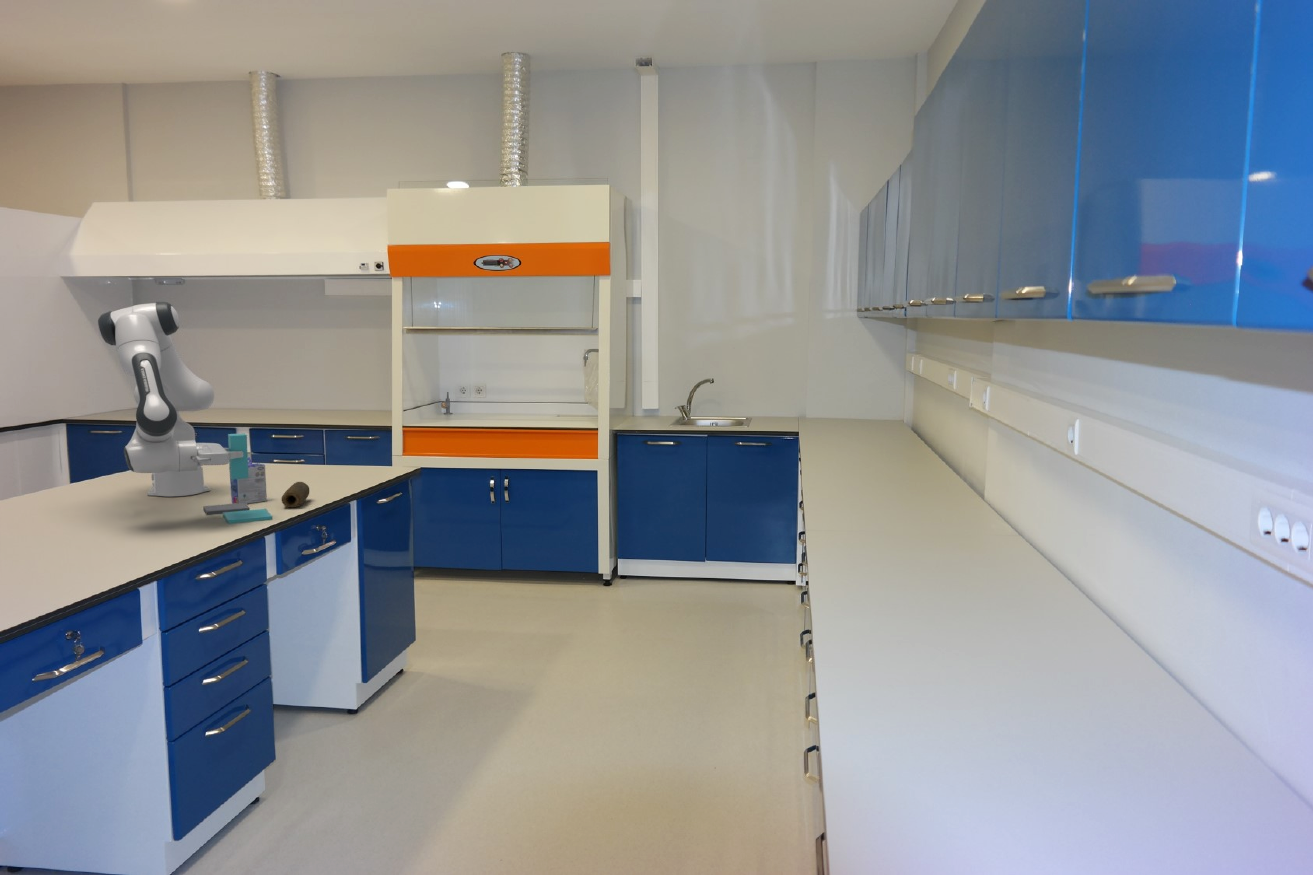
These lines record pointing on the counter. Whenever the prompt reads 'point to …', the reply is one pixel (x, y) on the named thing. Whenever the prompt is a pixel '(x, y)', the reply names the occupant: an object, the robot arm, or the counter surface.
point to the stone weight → (295, 494)
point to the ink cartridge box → (250, 485)
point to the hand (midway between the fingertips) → (241, 452)
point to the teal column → (238, 464)
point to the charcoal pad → (225, 508)
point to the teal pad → (247, 516)
